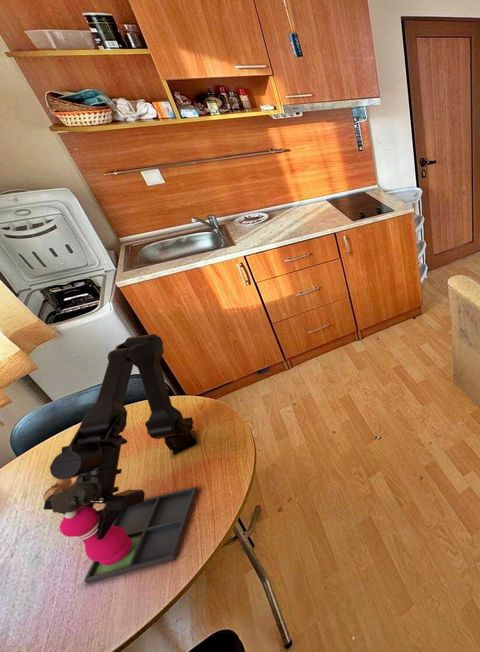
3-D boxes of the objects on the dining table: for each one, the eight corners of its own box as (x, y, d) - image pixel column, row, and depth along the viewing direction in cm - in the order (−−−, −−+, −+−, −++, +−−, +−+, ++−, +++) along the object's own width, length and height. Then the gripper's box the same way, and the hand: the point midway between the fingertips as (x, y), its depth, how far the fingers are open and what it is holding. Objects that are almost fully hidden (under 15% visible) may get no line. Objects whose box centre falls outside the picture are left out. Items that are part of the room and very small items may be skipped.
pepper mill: (111, 536, 95) (64, 496, 83) (141, 534, 95) (98, 494, 84) (90, 569, 89) (36, 531, 77) (122, 566, 89) (72, 528, 78)
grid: (124, 508, 103) (120, 505, 102) (198, 490, 107) (195, 487, 106) (87, 583, 88) (83, 580, 87) (175, 559, 92) (172, 556, 91)
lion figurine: (81, 509, 103) (61, 492, 98) (55, 520, 100) (33, 503, 95) (89, 468, 113) (71, 451, 108) (66, 478, 110) (47, 460, 105)
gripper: (22, 476, 80) (6, 556, 77) (107, 477, 80) (93, 557, 77) (76, 464, 91) (64, 533, 88) (151, 464, 91) (140, 533, 88)
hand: (89, 539), depth 85 cm, fingers closed on pepper mill, 5 cm apart
